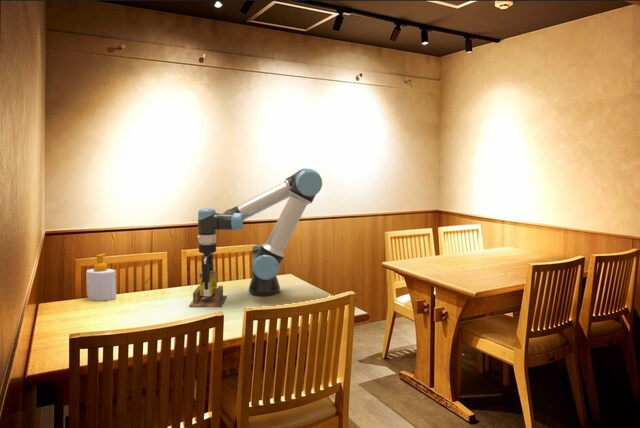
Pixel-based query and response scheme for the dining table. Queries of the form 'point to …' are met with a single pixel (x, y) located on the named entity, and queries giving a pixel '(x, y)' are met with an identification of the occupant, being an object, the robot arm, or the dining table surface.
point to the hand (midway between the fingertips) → (208, 293)
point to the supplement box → (212, 284)
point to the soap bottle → (101, 281)
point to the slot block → (208, 299)
